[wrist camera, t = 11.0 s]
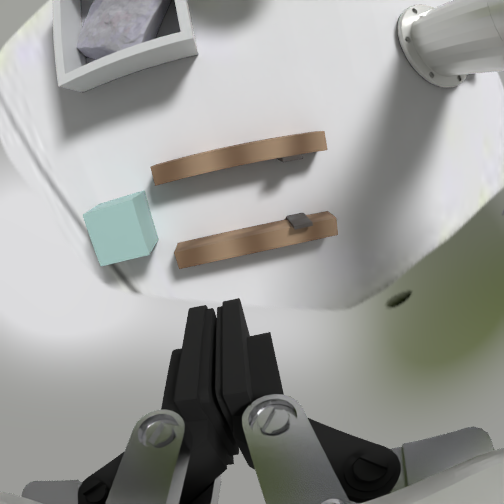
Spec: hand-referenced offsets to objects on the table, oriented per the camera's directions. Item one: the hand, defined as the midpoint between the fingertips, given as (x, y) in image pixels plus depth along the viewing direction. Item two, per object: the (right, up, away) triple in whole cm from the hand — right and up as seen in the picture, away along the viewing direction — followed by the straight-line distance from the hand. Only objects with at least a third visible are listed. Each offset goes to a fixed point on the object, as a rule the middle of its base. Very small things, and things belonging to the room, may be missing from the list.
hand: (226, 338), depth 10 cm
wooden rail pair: (0, +9, +24) cm, 25 cm away
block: (-14, +7, +24) cm, 28 cm away
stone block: (-14, +30, +15) cm, 36 cm away
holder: (-13, +30, +14) cm, 36 cm away
